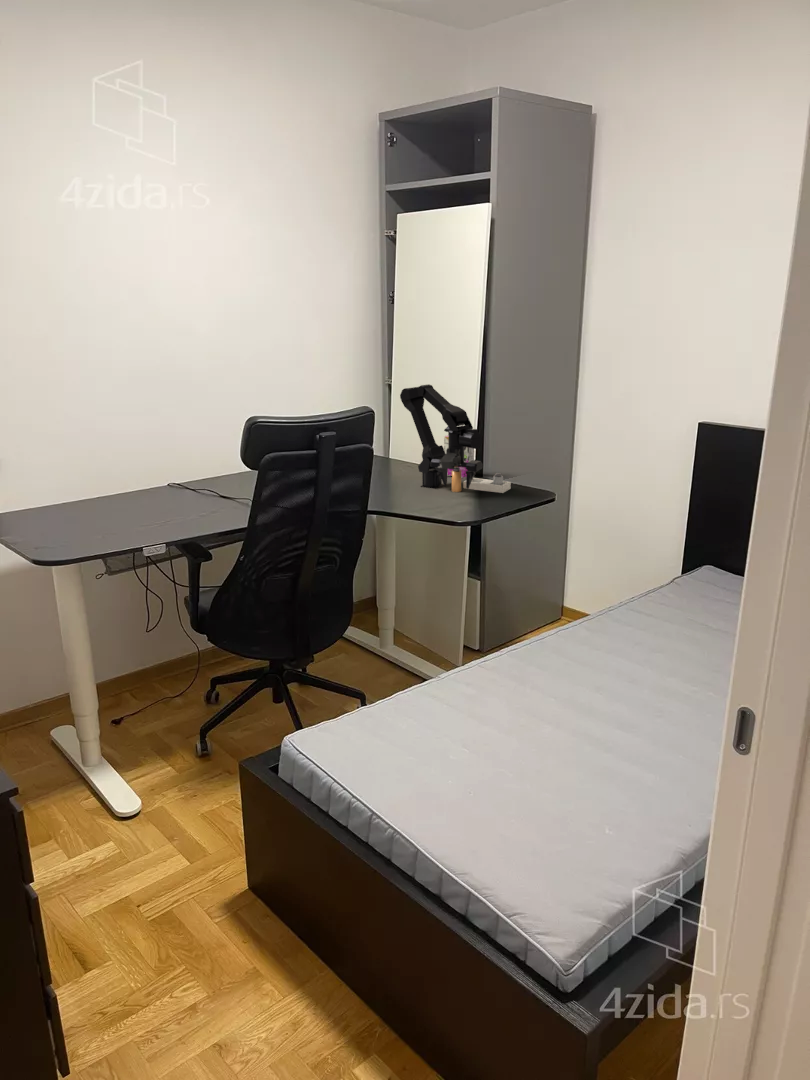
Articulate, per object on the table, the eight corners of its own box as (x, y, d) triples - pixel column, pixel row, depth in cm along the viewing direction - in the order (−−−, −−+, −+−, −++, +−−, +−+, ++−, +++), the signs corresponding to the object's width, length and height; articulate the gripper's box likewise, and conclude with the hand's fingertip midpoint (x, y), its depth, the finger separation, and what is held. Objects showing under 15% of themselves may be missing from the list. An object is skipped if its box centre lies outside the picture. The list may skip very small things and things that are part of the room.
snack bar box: (443, 476, 315) (443, 436, 310) (449, 474, 319) (449, 434, 314) (468, 479, 309) (468, 438, 304) (474, 477, 313) (474, 436, 308)
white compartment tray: (463, 490, 293) (463, 481, 292) (471, 486, 298) (471, 477, 297) (502, 495, 285) (502, 486, 284) (510, 491, 290) (510, 482, 289)
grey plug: (491, 490, 288) (491, 474, 287) (495, 488, 291) (495, 472, 290) (500, 491, 287) (500, 475, 285) (504, 489, 290) (504, 473, 288)
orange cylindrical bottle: (449, 492, 289) (449, 468, 286) (454, 490, 292) (454, 466, 289) (458, 493, 287) (458, 469, 284) (463, 491, 290) (463, 467, 287)
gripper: (422, 446, 282) (423, 489, 287) (469, 451, 273) (469, 494, 277) (437, 441, 291) (438, 482, 296) (483, 445, 282) (483, 487, 286)
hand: (456, 486), depth 289 cm, fingers open, 9 cm apart
